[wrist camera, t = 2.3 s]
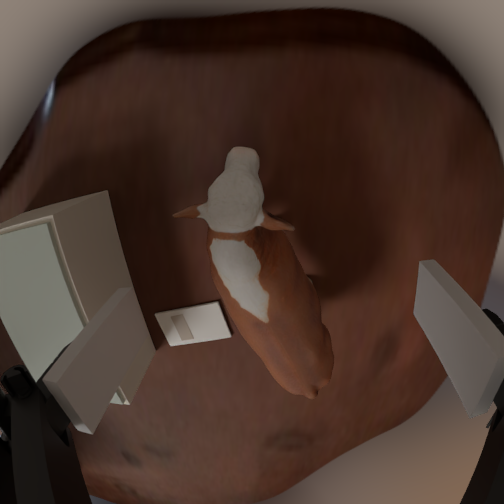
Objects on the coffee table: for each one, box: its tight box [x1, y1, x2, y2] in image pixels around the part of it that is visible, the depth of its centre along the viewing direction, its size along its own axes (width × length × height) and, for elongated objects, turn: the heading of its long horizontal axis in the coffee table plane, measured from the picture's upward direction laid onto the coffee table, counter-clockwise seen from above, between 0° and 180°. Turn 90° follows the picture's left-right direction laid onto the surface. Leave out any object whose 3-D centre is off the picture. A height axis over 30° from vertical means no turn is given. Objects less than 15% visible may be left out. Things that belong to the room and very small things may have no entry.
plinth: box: [0, 190, 156, 405], centre depth 18 cm, size 9×13×6 cm
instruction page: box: [154, 301, 232, 346], centre depth 22 cm, size 5×3×1 cm, turn 106°
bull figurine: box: [172, 147, 334, 399], centre depth 16 cm, size 4×13×8 cm, turn 20°
